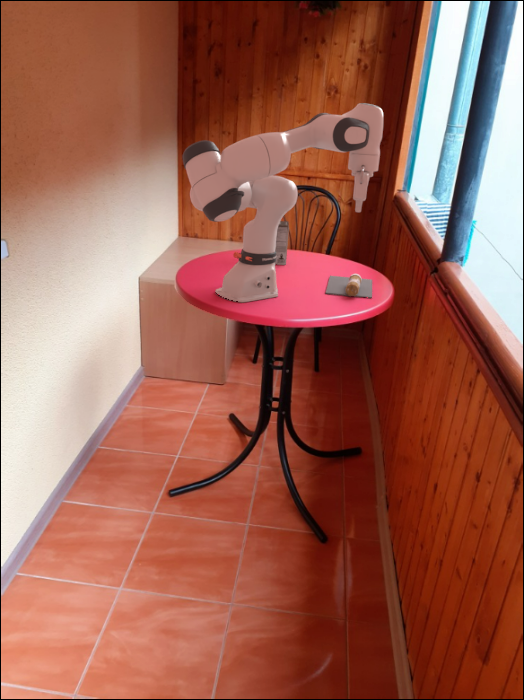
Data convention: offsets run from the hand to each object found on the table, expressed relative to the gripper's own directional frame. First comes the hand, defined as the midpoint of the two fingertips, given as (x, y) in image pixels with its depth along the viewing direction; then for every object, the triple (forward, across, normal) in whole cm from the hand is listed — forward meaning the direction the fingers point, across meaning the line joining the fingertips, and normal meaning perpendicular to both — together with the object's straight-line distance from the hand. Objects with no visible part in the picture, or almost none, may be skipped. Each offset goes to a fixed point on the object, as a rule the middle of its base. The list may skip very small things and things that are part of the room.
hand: (358, 211), depth 172 cm
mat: (+31, +24, 0) cm, 39 cm away
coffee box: (+31, +50, +30) cm, 66 cm away
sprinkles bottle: (+28, +11, -1) cm, 31 cm away
